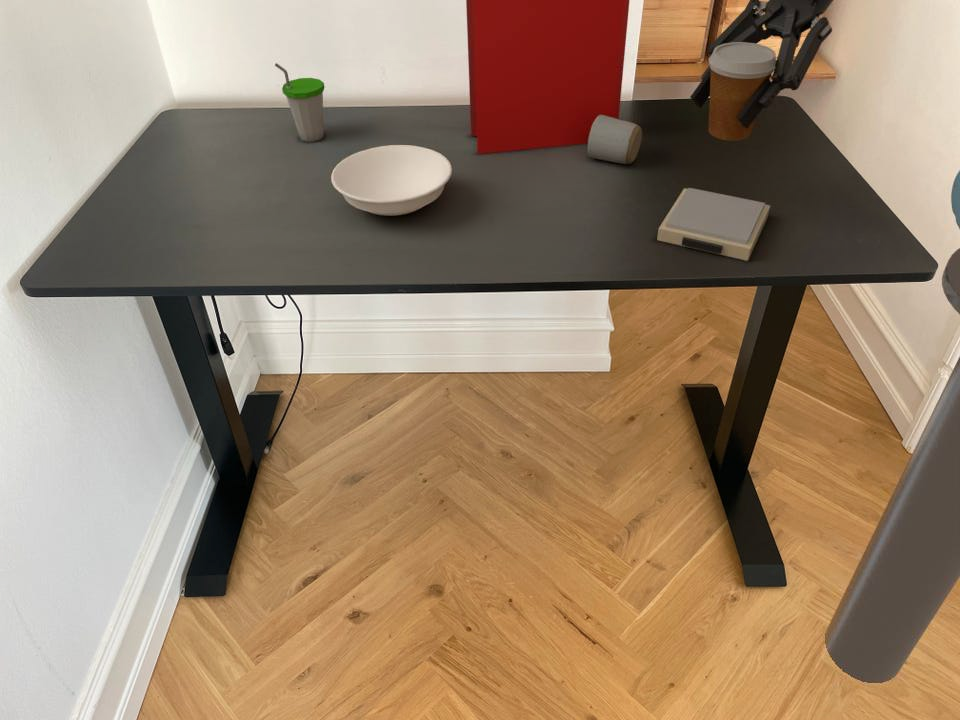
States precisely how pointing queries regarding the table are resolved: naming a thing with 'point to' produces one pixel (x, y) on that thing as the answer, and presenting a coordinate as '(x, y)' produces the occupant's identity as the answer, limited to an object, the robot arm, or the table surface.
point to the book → (543, 70)
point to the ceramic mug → (614, 140)
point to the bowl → (392, 178)
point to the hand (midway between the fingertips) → (718, 112)
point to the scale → (714, 223)
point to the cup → (305, 105)
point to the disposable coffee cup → (736, 85)
